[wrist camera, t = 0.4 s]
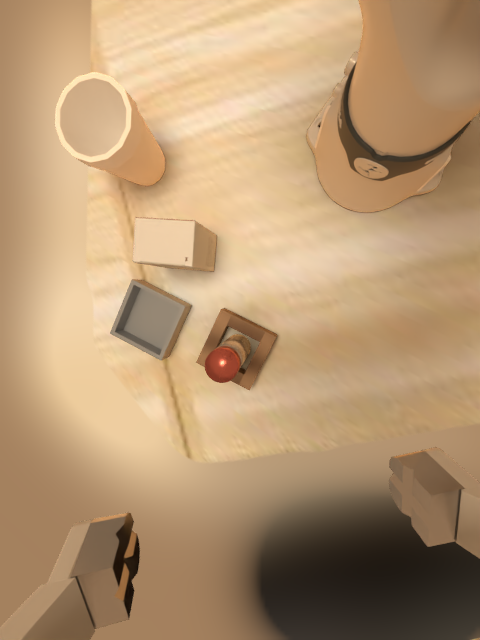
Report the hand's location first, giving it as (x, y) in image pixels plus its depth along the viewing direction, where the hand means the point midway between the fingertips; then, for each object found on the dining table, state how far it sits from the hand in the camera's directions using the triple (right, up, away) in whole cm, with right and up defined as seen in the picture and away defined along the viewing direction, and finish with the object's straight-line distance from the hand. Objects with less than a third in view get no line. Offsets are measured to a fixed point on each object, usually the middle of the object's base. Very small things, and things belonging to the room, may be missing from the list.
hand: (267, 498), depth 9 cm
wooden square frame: (-1, +1, +38) cm, 38 cm away
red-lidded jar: (-1, +1, +38) cm, 38 cm away
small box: (-8, +16, +38) cm, 42 cm away
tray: (-14, +6, +40) cm, 43 cm away
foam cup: (-15, +29, +38) cm, 50 cm away
